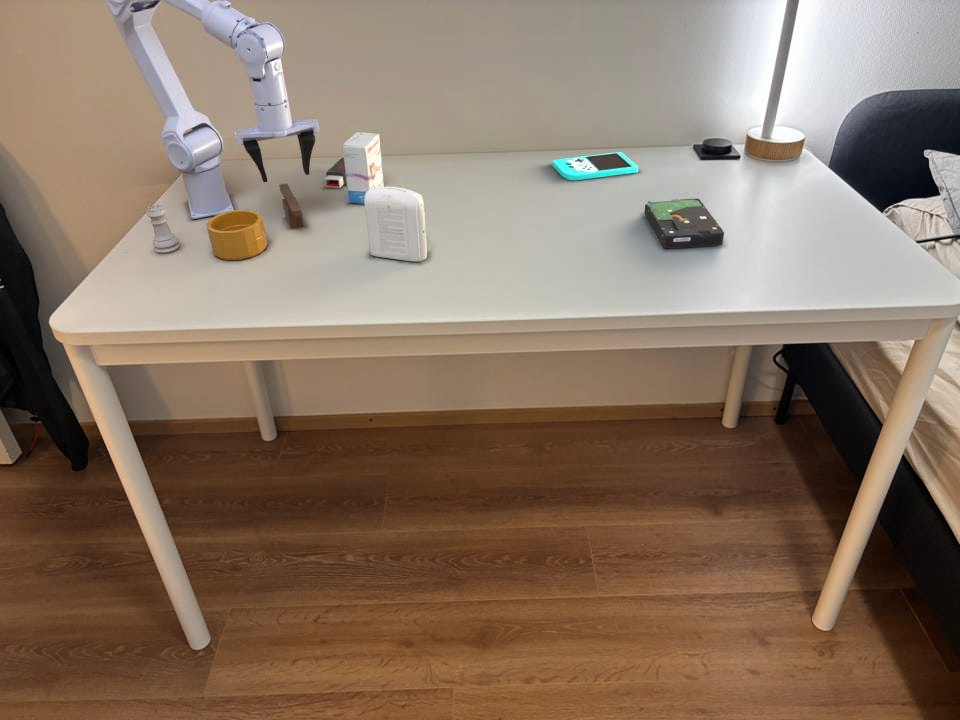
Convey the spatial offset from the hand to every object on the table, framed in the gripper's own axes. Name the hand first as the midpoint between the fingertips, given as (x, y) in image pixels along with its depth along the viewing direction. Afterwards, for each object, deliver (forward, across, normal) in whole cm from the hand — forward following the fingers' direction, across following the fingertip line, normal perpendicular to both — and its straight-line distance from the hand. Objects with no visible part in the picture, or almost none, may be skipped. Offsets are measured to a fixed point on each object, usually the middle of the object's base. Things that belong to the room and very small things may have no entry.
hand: (286, 176), depth 136 cm
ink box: (+9, +16, +6) cm, 19 cm away
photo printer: (+9, +14, -22) cm, 28 cm away
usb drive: (+9, +14, +18) cm, 25 cm away
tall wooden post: (+9, 0, 0) cm, 9 cm away
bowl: (+9, -11, -7) cm, 16 cm away
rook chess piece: (+9, -23, -1) cm, 25 cm away
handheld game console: (+9, +64, -2) cm, 65 cm away
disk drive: (+9, +63, -35) cm, 73 cm away
